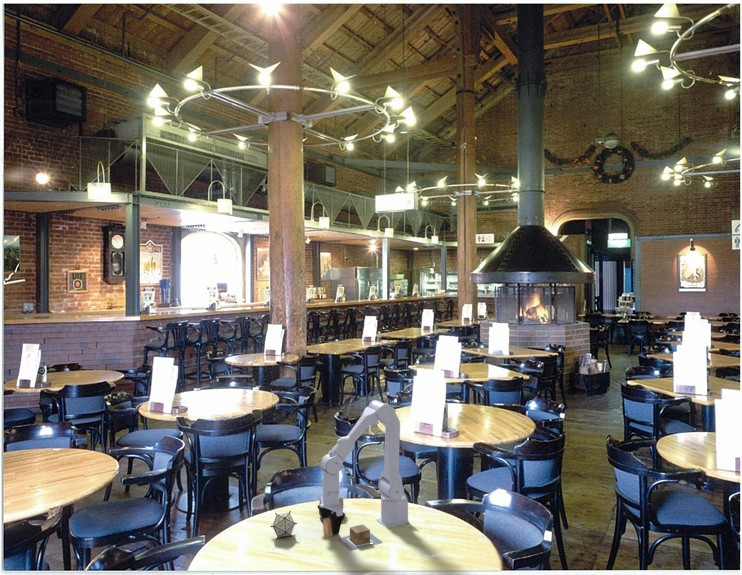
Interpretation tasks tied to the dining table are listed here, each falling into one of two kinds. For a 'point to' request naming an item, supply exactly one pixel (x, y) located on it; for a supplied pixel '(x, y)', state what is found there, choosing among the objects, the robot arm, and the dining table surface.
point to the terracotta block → (327, 527)
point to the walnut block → (359, 534)
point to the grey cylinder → (340, 504)
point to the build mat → (353, 546)
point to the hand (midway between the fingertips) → (331, 529)
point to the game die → (283, 525)
